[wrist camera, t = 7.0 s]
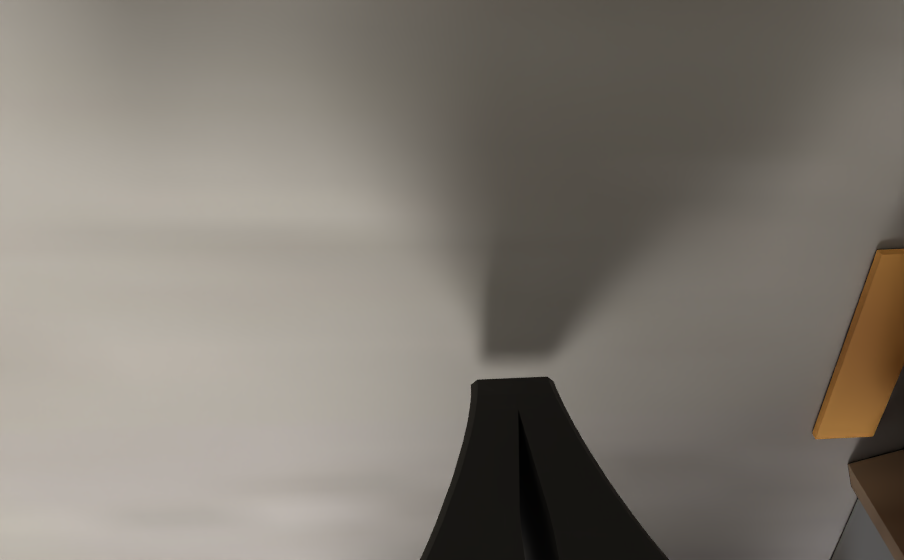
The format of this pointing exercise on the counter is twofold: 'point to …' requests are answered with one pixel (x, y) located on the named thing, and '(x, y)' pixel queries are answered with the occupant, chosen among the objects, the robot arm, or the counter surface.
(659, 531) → the counter surface
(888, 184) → the counter surface
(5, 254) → the counter surface
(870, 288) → the rack
